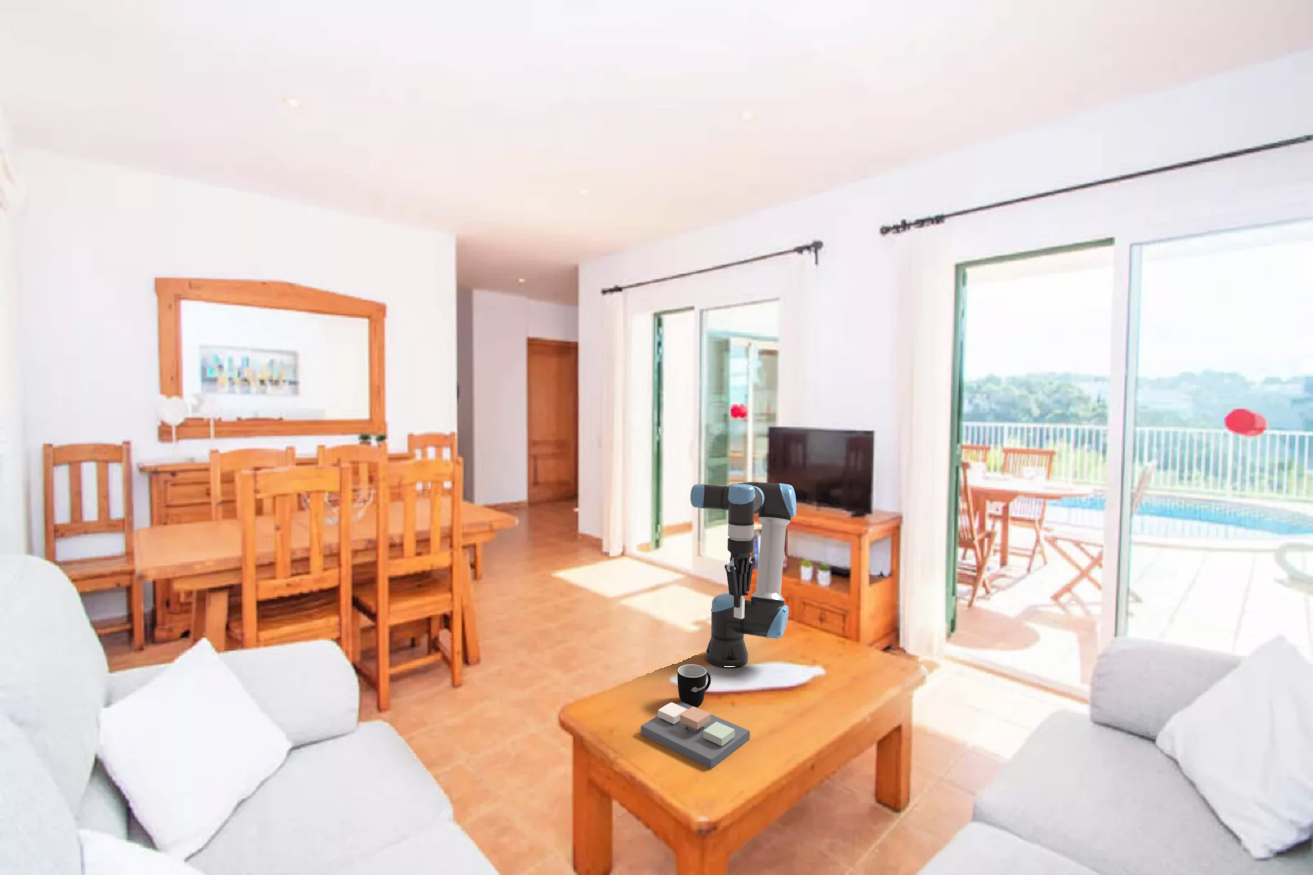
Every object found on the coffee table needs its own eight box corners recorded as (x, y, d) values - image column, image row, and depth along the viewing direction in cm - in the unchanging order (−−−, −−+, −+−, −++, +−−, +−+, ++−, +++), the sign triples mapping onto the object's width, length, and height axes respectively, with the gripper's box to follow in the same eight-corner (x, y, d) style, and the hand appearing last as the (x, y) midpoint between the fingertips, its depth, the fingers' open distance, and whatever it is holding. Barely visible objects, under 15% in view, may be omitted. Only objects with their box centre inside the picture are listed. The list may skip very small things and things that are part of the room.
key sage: (716, 737, 168) (716, 721, 167) (734, 745, 164) (734, 729, 164) (703, 746, 163) (703, 730, 163) (721, 755, 159) (722, 738, 159)
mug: (689, 713, 182) (689, 679, 181) (671, 700, 189) (671, 668, 188) (719, 701, 189) (720, 669, 188) (700, 690, 196) (701, 659, 195)
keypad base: (681, 709, 183) (681, 701, 183) (749, 739, 168) (749, 730, 168) (640, 734, 170) (641, 725, 170) (711, 769, 154) (711, 759, 154)
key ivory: (671, 717, 178) (671, 702, 178) (687, 724, 174) (687, 709, 174) (657, 725, 174) (657, 710, 173) (674, 733, 170) (674, 717, 169)
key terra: (693, 721, 173) (693, 706, 173) (710, 729, 169) (710, 713, 169) (679, 730, 168) (680, 714, 168) (697, 738, 164) (697, 722, 164)
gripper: (741, 532, 185) (740, 608, 187) (717, 539, 175) (715, 620, 177) (763, 536, 180) (761, 614, 182) (739, 543, 170) (737, 626, 172)
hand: (739, 617), depth 179 cm, fingers closed
